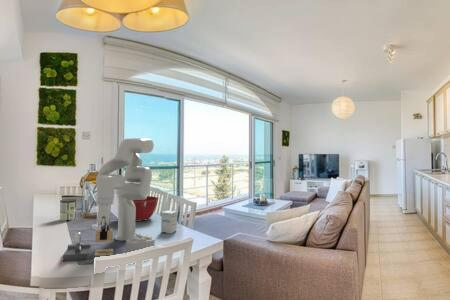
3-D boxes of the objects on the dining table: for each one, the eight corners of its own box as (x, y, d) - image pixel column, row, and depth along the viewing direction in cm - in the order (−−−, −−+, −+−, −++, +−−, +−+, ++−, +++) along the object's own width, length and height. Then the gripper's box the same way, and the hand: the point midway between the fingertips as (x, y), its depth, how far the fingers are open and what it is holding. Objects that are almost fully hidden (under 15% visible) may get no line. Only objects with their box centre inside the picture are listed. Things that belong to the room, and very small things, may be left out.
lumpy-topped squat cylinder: (156, 254, 143) (156, 236, 143) (128, 259, 136) (129, 240, 136) (149, 248, 152) (149, 231, 152) (123, 253, 145) (123, 235, 145)
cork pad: (96, 251, 147) (96, 249, 147) (113, 249, 149) (113, 248, 149) (94, 256, 139) (94, 255, 139) (112, 255, 141) (112, 253, 141)
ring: (97, 239, 146) (97, 228, 146) (112, 238, 148) (112, 228, 148) (95, 242, 139) (96, 231, 140) (111, 241, 141) (111, 230, 142)
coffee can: (65, 217, 218) (66, 198, 218) (78, 218, 217) (79, 199, 217) (56, 220, 208) (56, 200, 208) (70, 221, 207) (70, 201, 207)
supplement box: (160, 232, 183) (161, 212, 183) (167, 229, 189) (167, 210, 190) (170, 234, 180) (171, 213, 180) (177, 231, 187) (177, 211, 187)
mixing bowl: (111, 218, 218) (112, 197, 218) (147, 213, 237) (147, 194, 237) (127, 226, 197) (128, 202, 197) (165, 220, 216) (165, 199, 216)
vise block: (68, 253, 143) (69, 230, 143) (91, 251, 146) (91, 229, 146) (62, 261, 132) (63, 237, 132) (87, 260, 135) (87, 235, 135)
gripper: (99, 198, 152) (98, 233, 151) (94, 203, 135) (93, 243, 134) (114, 198, 154) (113, 232, 153) (112, 203, 137) (110, 242, 137)
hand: (104, 237), depth 144 cm, fingers closed on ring, 7 cm apart
